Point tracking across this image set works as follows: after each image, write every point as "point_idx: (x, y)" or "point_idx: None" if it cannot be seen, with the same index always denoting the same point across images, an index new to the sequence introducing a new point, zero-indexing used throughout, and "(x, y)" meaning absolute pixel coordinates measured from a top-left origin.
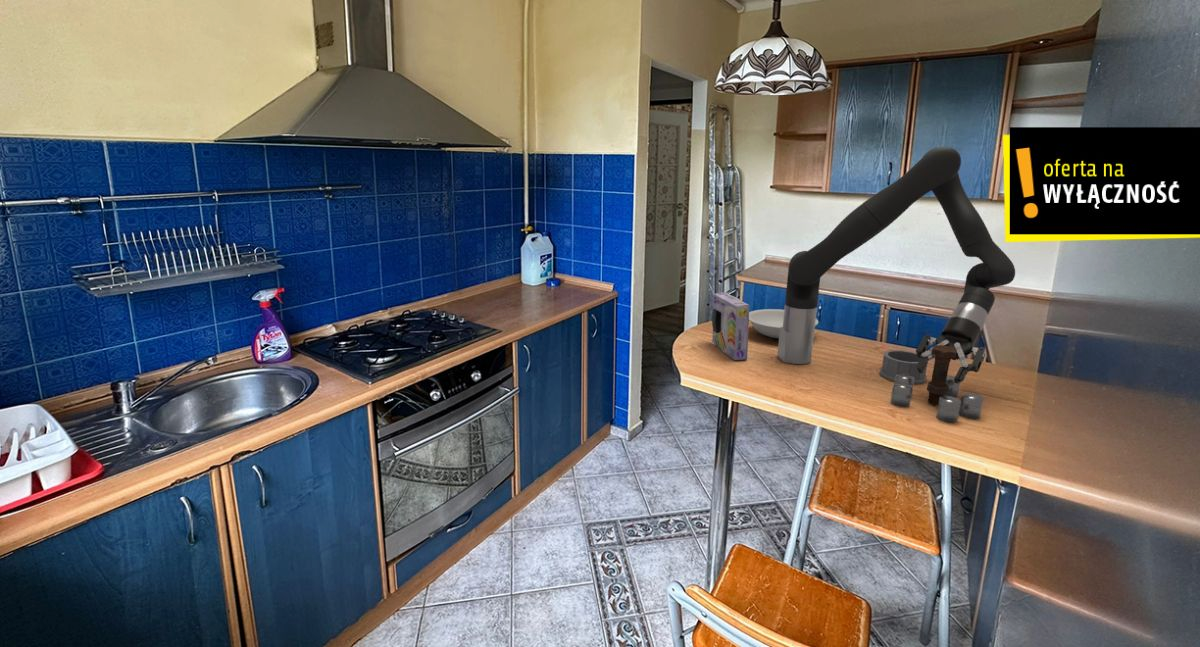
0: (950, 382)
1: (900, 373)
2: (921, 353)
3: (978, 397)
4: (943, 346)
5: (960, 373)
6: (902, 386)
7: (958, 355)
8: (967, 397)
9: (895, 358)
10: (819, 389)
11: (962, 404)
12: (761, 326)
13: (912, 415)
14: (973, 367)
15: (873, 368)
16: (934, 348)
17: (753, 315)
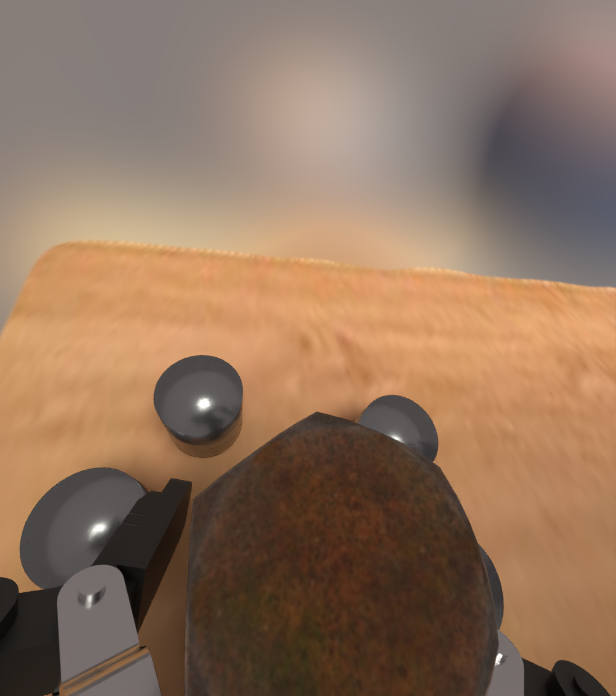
0: None
1: (498, 626)
2: (534, 685)
3: (55, 523)
4: (396, 693)
5: (148, 517)
6: (395, 414)
7: (159, 693)
8: (120, 476)
9: None
10: (567, 398)
11: (148, 490)
12: None
13: (304, 379)
14: (5, 586)
15: None
16: (427, 466)
17: None
